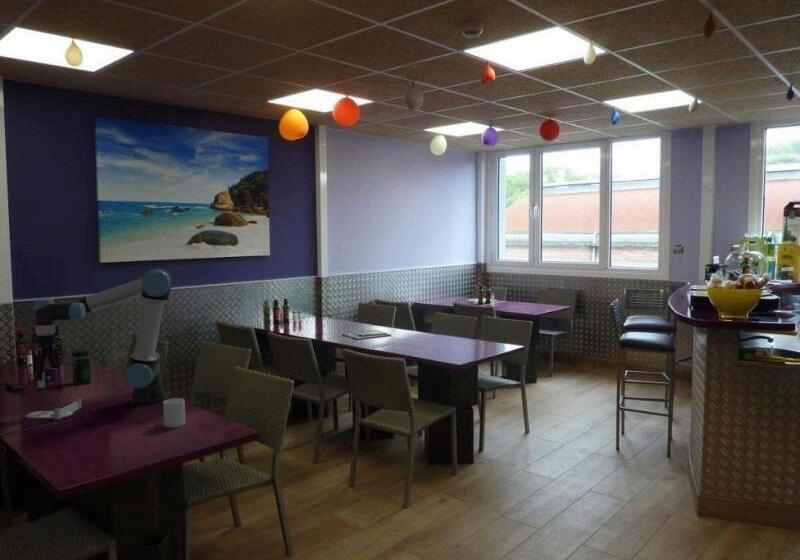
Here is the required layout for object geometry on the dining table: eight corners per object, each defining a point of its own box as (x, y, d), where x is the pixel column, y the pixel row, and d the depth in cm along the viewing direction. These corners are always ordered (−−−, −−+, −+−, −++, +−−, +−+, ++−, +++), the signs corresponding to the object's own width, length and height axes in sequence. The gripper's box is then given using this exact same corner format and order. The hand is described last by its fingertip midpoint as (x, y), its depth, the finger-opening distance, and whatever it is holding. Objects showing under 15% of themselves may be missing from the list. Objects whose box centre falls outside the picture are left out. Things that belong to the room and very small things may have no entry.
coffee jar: (93, 383, 321) (91, 349, 319) (77, 385, 315) (75, 351, 314) (86, 380, 327) (85, 346, 326) (71, 382, 322) (69, 348, 320)
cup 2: (167, 429, 244) (166, 404, 243) (159, 421, 253) (158, 398, 253) (187, 425, 249) (186, 401, 248) (179, 418, 258) (178, 395, 257)
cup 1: (40, 388, 258) (39, 373, 258) (39, 383, 267) (39, 368, 266) (58, 386, 262) (57, 371, 261) (56, 381, 270) (56, 366, 270)
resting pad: (77, 411, 269) (77, 411, 269) (65, 418, 260) (65, 417, 260) (34, 411, 270) (34, 410, 270) (20, 417, 261) (20, 417, 261)
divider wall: (81, 407, 275) (81, 398, 275) (58, 419, 258) (57, 409, 257) (78, 407, 275) (77, 398, 275) (54, 419, 258) (53, 409, 257)
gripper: (51, 330, 272) (54, 379, 274) (21, 338, 252) (24, 391, 253) (67, 330, 272) (70, 379, 274) (38, 338, 251) (41, 391, 253)
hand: (48, 384), depth 264 cm, fingers closed on cup 1, 8 cm apart
